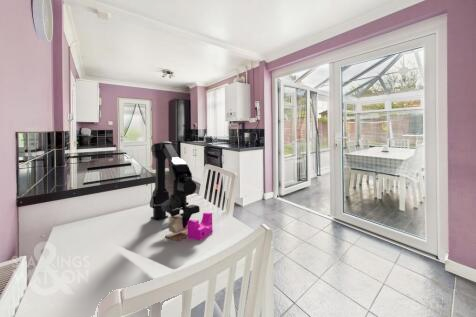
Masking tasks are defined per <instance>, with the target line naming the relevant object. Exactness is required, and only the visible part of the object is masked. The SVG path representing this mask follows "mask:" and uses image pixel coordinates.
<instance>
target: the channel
mask: <svg viewBox="0 0 476 317" xmlns="http://www.w3.org/2000/svg"><path fill="white" fill-rule="evenodd" d="M160 227H161V229H166V228H169V220H167V221H165V222H162V223H161V226H160Z"/></svg>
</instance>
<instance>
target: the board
mask: <svg viewBox="0 0 476 317" xmlns="http://www.w3.org/2000/svg"><path fill="white" fill-rule="evenodd" d="M164 237H165V238H167V239H170V240H173V241H175V242H179V241H182V240H184V239H186V238H188V229H186V230H184V231H181V232H179V233H174V232H171V233H169V234H166V235H165V236H164Z"/></svg>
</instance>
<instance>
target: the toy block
mask: <svg viewBox="0 0 476 317" xmlns="http://www.w3.org/2000/svg"><path fill="white" fill-rule="evenodd" d="M187 226H188V229H187V230H188V237H187V239H190V240H195V241H202V240H203V239H205V238H206V237H208V236H210V234H212V233H213V212H207V211H205V212H203V213H202V218H201V221H199V219H198V220H197V219H191V218H190V219H189V221H187Z"/></svg>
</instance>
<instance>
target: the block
mask: <svg viewBox="0 0 476 317" xmlns="http://www.w3.org/2000/svg"><path fill="white" fill-rule="evenodd" d="M180 214H181V213H180ZM180 214H178V215H174V216H171V215H170V216H168V221H169V226H168V232H171V233H179V232H181V231H184V230H188V226H186V228H183V222H182V216H181V215H180Z"/></svg>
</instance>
